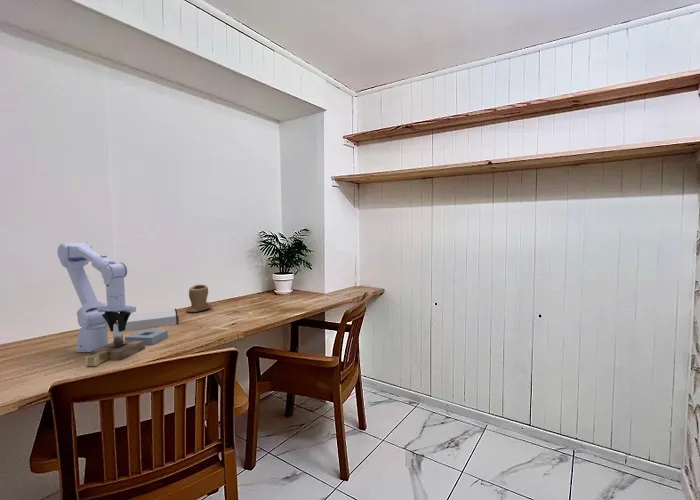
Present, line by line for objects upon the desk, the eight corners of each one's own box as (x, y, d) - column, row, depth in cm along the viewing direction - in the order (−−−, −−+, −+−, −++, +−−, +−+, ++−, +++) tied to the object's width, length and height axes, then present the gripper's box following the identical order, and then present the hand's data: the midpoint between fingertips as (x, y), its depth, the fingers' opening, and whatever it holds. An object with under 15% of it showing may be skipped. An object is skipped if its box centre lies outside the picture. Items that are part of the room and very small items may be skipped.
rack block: (125, 344, 141) (124, 337, 140) (142, 336, 150) (142, 329, 150) (152, 344, 139) (151, 337, 139) (167, 337, 149) (167, 330, 149)
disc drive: (178, 325, 170) (177, 315, 169) (124, 332, 159) (123, 321, 159) (176, 317, 185) (176, 308, 185) (127, 323, 174) (126, 314, 174)
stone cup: (195, 314, 189) (194, 287, 188) (182, 312, 194) (181, 286, 194) (218, 308, 202) (217, 283, 201) (205, 306, 208) (204, 282, 207)
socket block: (91, 359, 125) (90, 351, 125) (117, 347, 137) (117, 340, 136) (121, 360, 123) (120, 351, 123) (145, 348, 135) (144, 340, 135)
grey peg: (111, 344, 128) (110, 323, 128) (118, 342, 131) (116, 321, 131) (119, 345, 128) (117, 324, 127) (125, 342, 131) (124, 321, 130)
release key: (86, 365, 118) (85, 356, 118) (100, 359, 124) (100, 350, 124) (96, 366, 118) (95, 357, 117) (110, 359, 123) (110, 350, 123)
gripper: (89, 297, 125) (91, 333, 126) (125, 297, 124) (127, 334, 125) (105, 293, 132) (107, 328, 133) (139, 294, 131) (141, 328, 132)
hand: (117, 330), depth 129 cm, fingers closed on grey peg, 3 cm apart
